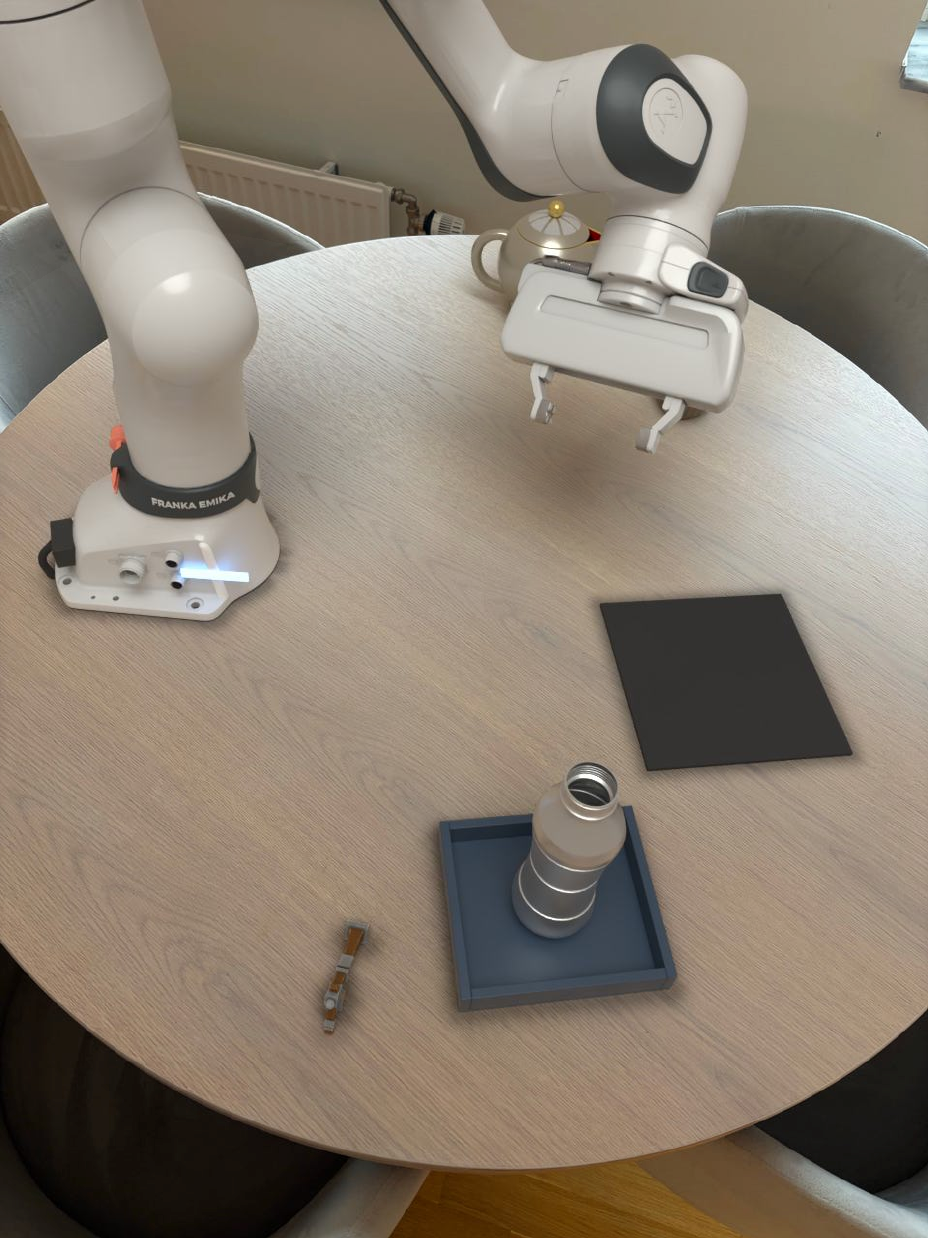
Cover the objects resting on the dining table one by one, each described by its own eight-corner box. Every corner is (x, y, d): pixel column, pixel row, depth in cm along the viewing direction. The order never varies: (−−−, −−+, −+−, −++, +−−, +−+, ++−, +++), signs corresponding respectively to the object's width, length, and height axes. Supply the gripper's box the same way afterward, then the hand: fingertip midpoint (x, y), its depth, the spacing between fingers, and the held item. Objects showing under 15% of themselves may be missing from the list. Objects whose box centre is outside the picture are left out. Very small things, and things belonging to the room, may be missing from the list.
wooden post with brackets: (312, 1041, 69) (317, 996, 67) (342, 959, 76) (347, 917, 74) (336, 1047, 69) (342, 1002, 67) (364, 964, 76) (370, 922, 74)
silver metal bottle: (531, 856, 80) (567, 725, 65) (602, 897, 78) (658, 772, 63) (493, 918, 76) (522, 795, 61) (567, 963, 74) (617, 847, 59)
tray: (458, 1012, 72) (461, 1000, 70) (437, 836, 81) (439, 821, 79) (669, 989, 74) (678, 976, 72) (625, 820, 83) (631, 805, 81)
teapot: (596, 297, 137) (618, 185, 125) (589, 350, 129) (612, 236, 116) (474, 278, 138) (483, 165, 126) (459, 330, 129) (467, 214, 117)
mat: (647, 771, 87) (648, 769, 86) (599, 605, 99) (600, 602, 99) (851, 755, 89) (853, 753, 89) (780, 595, 102) (781, 593, 102)
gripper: (519, 235, 79) (468, 397, 80) (763, 286, 72) (703, 462, 73) (539, 263, 85) (491, 413, 86) (767, 312, 78) (711, 474, 79)
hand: (591, 436), depth 80 cm, fingers open, 8 cm apart
